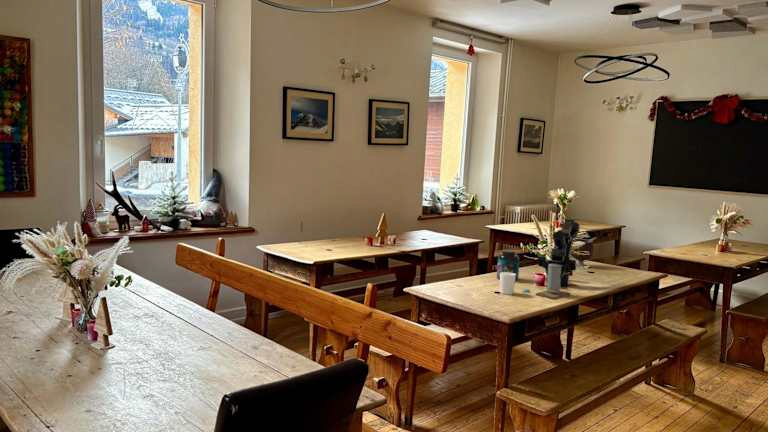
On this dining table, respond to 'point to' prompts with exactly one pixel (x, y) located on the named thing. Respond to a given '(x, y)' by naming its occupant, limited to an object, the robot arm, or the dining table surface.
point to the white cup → (507, 283)
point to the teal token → (526, 290)
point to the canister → (554, 277)
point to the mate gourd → (586, 247)
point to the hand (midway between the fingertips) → (553, 276)
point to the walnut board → (552, 294)
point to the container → (508, 263)
